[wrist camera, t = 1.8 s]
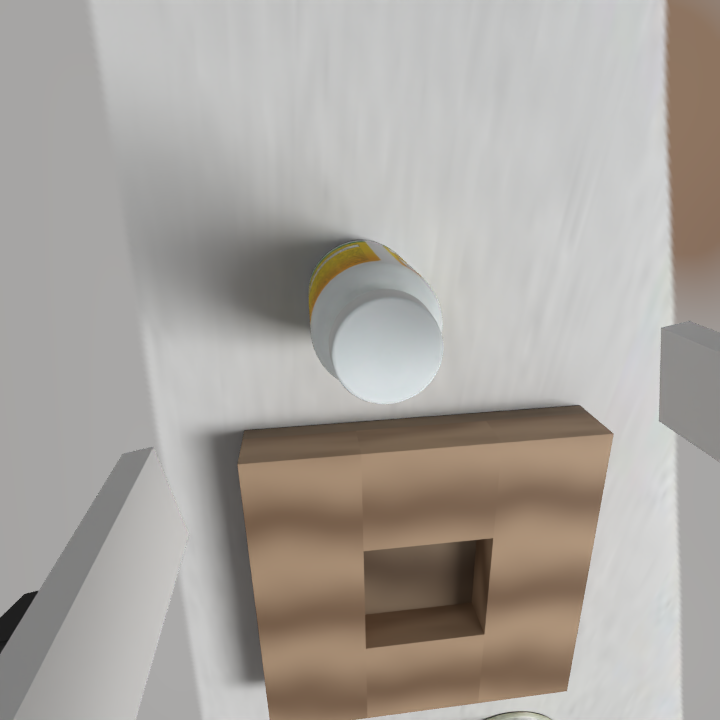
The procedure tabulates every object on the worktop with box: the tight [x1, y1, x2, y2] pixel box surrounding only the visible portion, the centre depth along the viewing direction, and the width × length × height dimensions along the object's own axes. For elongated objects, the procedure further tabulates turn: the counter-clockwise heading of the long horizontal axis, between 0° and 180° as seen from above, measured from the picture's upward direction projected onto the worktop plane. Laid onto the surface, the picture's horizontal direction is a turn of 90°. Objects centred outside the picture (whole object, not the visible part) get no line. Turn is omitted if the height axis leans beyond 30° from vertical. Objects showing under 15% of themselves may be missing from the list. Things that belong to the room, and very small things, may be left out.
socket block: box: [237, 405, 613, 720], centre depth 32 cm, size 20×20×4 cm
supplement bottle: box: [308, 240, 444, 404], centre depth 22 cm, size 5×5×10 cm
